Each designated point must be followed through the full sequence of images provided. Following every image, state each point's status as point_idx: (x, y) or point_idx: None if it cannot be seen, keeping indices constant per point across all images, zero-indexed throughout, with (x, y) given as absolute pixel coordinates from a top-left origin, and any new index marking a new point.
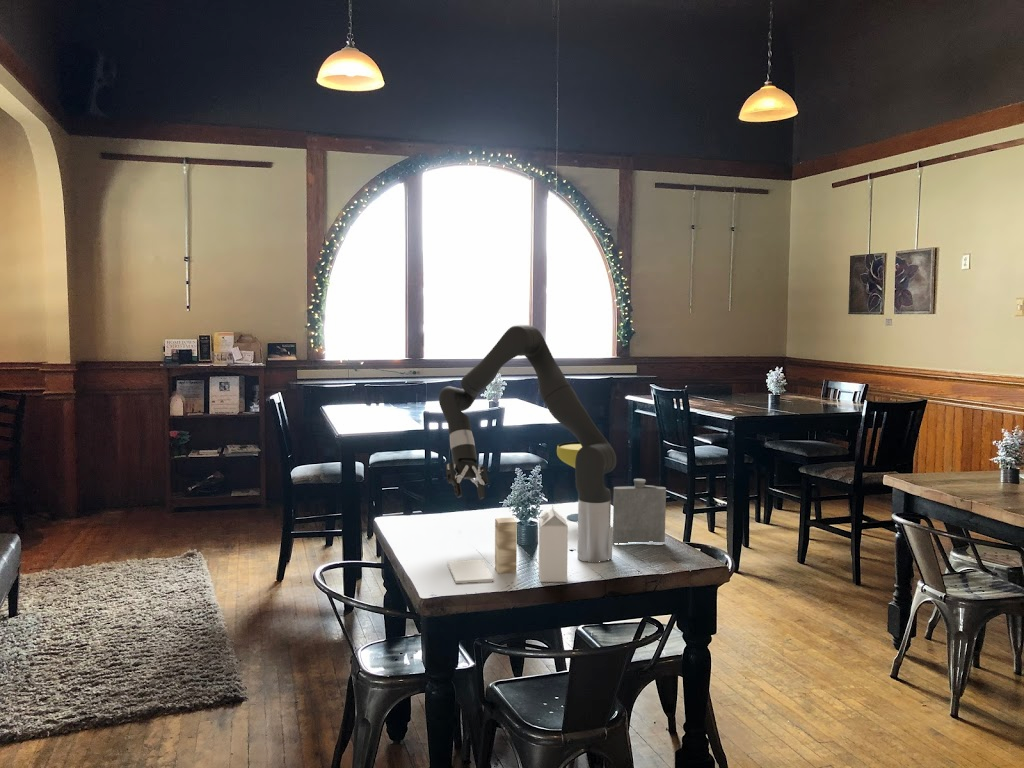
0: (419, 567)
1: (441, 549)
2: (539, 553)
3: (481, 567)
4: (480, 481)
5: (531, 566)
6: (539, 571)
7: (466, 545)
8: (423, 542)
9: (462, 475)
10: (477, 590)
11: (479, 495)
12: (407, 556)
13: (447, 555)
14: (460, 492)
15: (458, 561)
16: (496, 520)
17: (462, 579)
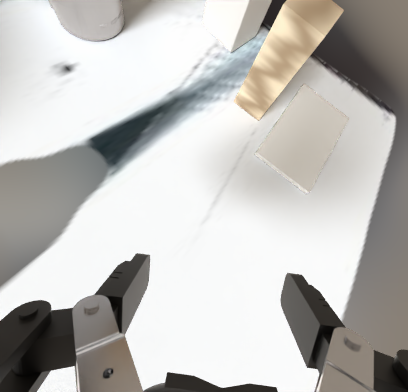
0: (349, 217)
1: (258, 278)
2: (259, 3)
3: (285, 126)
4: (109, 322)
5: (209, 79)
6: (249, 32)
7: (197, 261)
8: (254, 362)
9: (347, 381)
10: (336, 84)
11: (143, 286)
12: (335, 289)
13: (274, 234)
14: (306, 281)
15: (295, 177)
16: (331, 27)
17: (339, 114)
